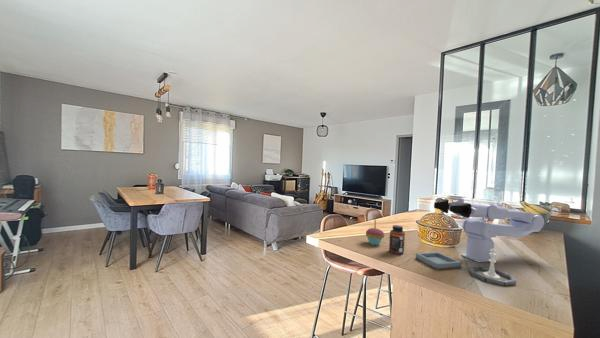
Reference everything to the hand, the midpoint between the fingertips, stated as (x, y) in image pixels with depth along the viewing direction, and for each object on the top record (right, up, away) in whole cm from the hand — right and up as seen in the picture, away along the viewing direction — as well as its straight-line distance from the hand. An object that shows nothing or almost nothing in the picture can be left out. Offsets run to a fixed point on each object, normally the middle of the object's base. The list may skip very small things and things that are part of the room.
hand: (442, 206), depth 97 cm
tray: (-2, -22, -1) cm, 22 cm away
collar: (+10, -22, -12) cm, 27 cm away
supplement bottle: (-15, -21, +9) cm, 27 cm away
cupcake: (-21, -21, +20) cm, 35 cm away
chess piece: (+10, -23, -12) cm, 28 cm away
